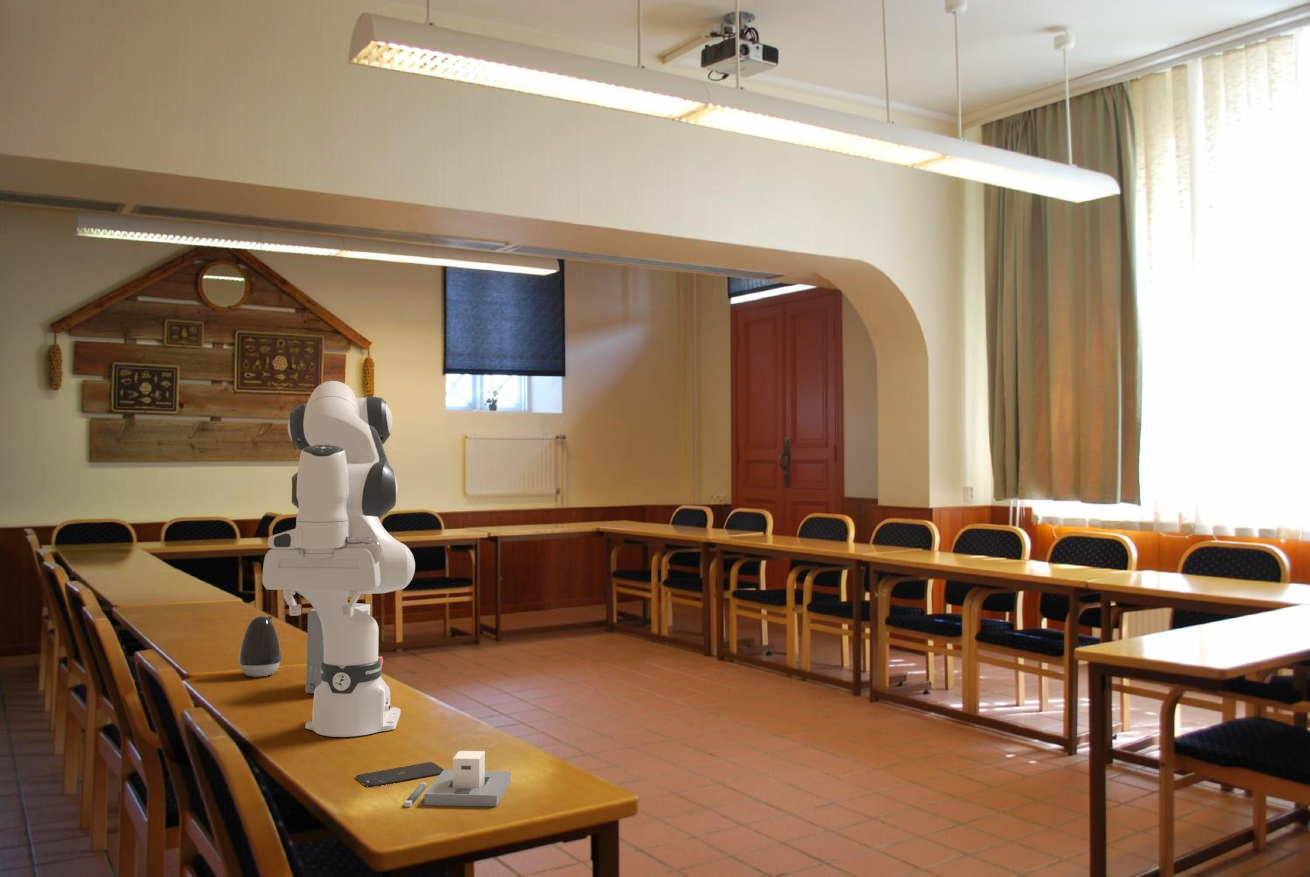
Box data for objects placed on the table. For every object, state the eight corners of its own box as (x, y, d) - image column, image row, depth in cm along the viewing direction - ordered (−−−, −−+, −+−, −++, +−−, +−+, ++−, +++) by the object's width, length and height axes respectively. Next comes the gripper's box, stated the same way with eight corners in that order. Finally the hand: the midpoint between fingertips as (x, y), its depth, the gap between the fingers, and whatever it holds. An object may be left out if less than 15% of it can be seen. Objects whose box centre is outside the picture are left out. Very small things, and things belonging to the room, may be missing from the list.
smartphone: (448, 770, 188) (367, 785, 180) (448, 775, 188) (367, 790, 180) (432, 760, 195) (353, 774, 186) (432, 764, 195) (353, 779, 186)
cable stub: (420, 788, 181) (420, 781, 181) (427, 788, 181) (427, 781, 181) (403, 808, 171) (403, 800, 171) (410, 808, 171) (411, 801, 171)
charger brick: (458, 785, 180) (459, 750, 180) (484, 785, 180) (484, 751, 180) (452, 794, 176) (452, 758, 176) (479, 794, 176) (479, 759, 176)
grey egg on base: (288, 671, 273) (289, 613, 273) (269, 680, 263) (270, 619, 263) (251, 670, 274) (252, 612, 274) (231, 678, 264) (231, 618, 264)
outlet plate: (443, 779, 185) (443, 769, 185) (510, 781, 184) (510, 770, 184) (424, 805, 172) (424, 793, 172) (496, 806, 171) (496, 795, 171)
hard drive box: (331, 696, 246) (332, 612, 246) (304, 694, 248) (305, 610, 248) (370, 682, 260) (370, 603, 261) (344, 680, 263) (344, 601, 263)
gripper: (385, 536, 187) (385, 613, 186) (273, 535, 188) (272, 612, 187) (375, 539, 180) (374, 619, 180) (258, 538, 181) (258, 617, 181)
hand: (321, 615), depth 184 cm, fingers open, 8 cm apart
